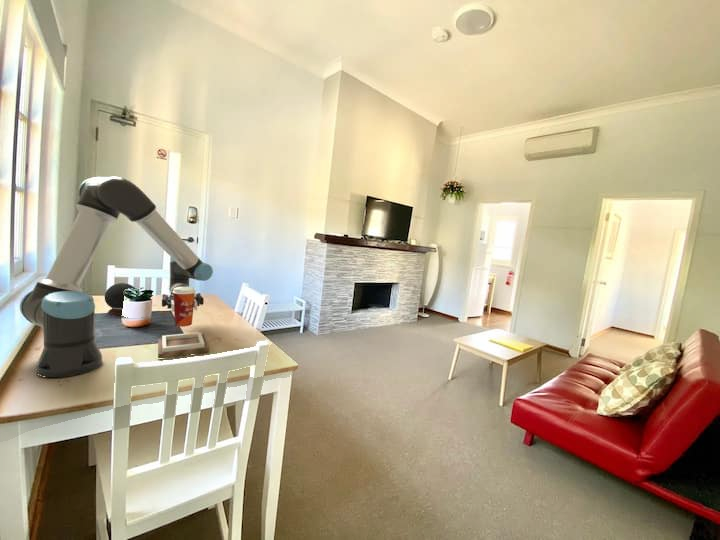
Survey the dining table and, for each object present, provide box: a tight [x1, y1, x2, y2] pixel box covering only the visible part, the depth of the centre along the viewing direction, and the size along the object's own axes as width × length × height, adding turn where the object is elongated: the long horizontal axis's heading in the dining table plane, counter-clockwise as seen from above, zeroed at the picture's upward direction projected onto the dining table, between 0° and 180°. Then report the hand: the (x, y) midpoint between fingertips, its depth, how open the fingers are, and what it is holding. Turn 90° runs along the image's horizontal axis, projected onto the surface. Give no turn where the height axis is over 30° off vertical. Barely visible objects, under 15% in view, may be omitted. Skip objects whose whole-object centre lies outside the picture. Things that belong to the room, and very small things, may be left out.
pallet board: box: [157, 331, 210, 359], centre depth 118 cm, size 16×16×4 cm
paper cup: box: [172, 286, 196, 328], centre depth 116 cm, size 8×8×14 cm
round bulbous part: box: [104, 282, 136, 317], centre depth 152 cm, size 13×13×15 cm
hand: (184, 307), depth 112 cm, fingers closed on paper cup, 7 cm apart
